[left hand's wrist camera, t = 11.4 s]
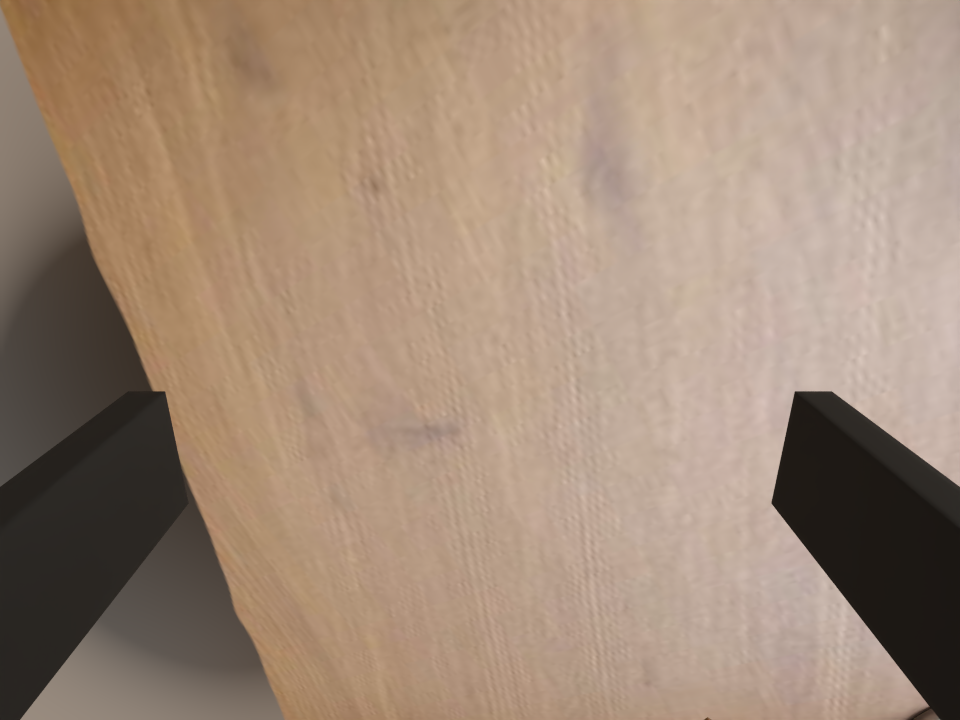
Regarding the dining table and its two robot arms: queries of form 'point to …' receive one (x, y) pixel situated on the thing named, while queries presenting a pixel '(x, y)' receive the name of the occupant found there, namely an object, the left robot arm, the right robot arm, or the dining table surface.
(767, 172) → the dining table surface
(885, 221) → the dining table surface
